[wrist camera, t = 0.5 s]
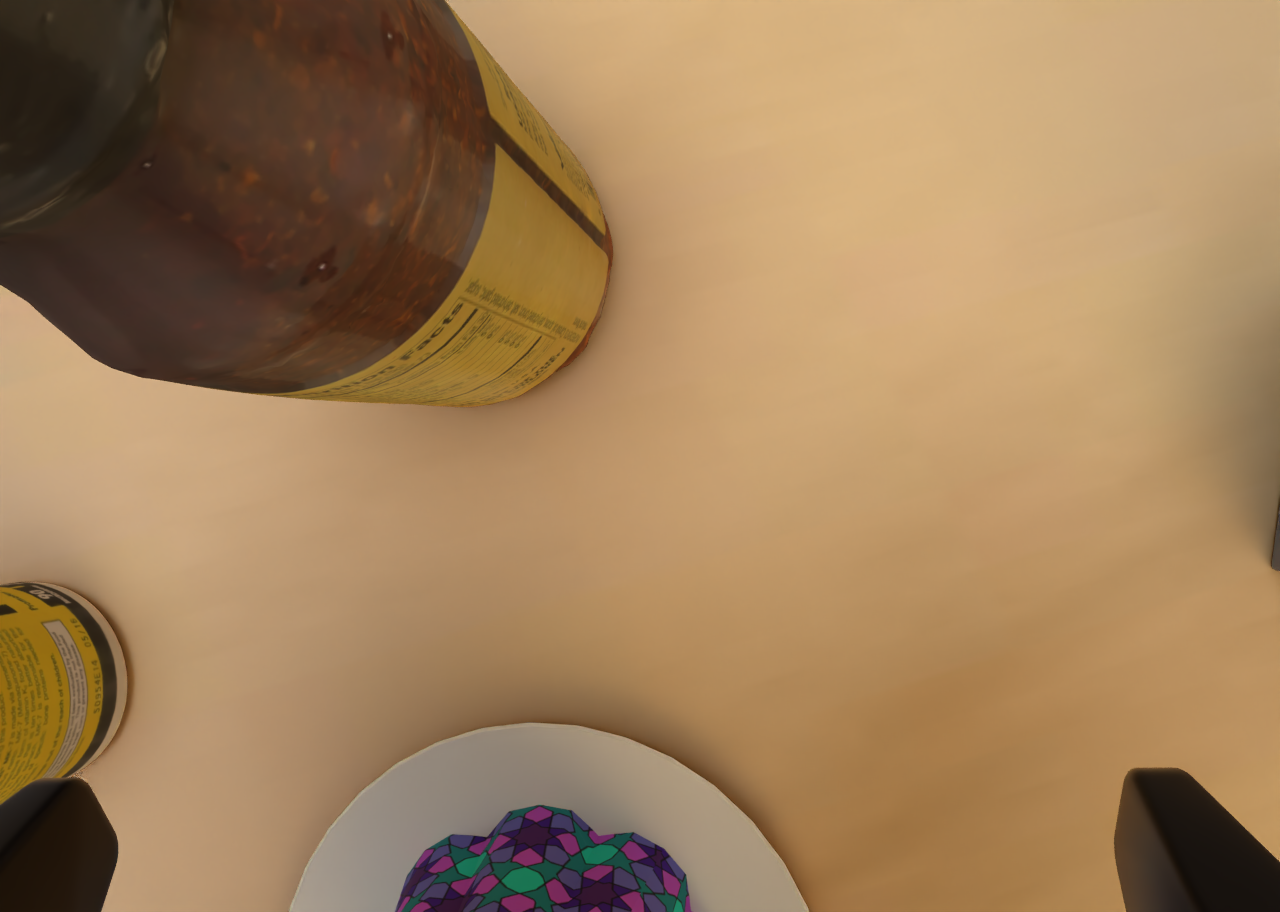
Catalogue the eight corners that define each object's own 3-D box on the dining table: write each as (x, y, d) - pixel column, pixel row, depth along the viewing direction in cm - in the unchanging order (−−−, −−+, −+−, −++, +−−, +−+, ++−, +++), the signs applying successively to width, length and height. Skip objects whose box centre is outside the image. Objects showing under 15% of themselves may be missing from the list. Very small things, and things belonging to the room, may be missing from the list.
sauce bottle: (350, 142, 25) (-1234, -1008, 6) (623, 124, 24) (-134, -1316, 5) (353, 430, 25) (-1246, 286, 6) (627, 424, 24) (-128, 226, 5)
